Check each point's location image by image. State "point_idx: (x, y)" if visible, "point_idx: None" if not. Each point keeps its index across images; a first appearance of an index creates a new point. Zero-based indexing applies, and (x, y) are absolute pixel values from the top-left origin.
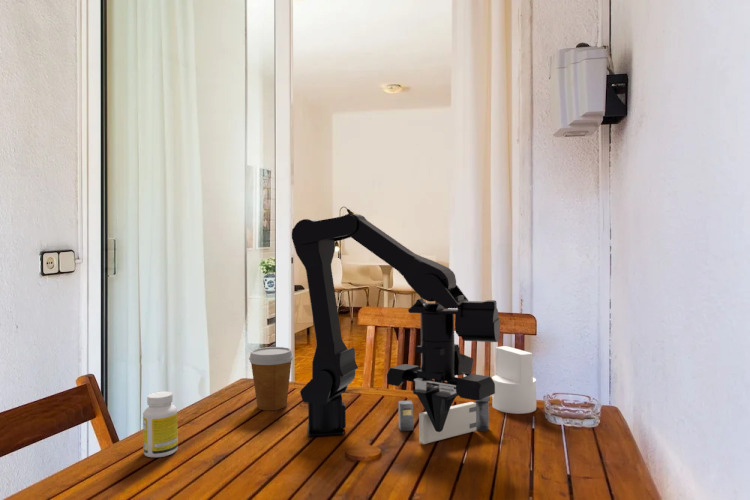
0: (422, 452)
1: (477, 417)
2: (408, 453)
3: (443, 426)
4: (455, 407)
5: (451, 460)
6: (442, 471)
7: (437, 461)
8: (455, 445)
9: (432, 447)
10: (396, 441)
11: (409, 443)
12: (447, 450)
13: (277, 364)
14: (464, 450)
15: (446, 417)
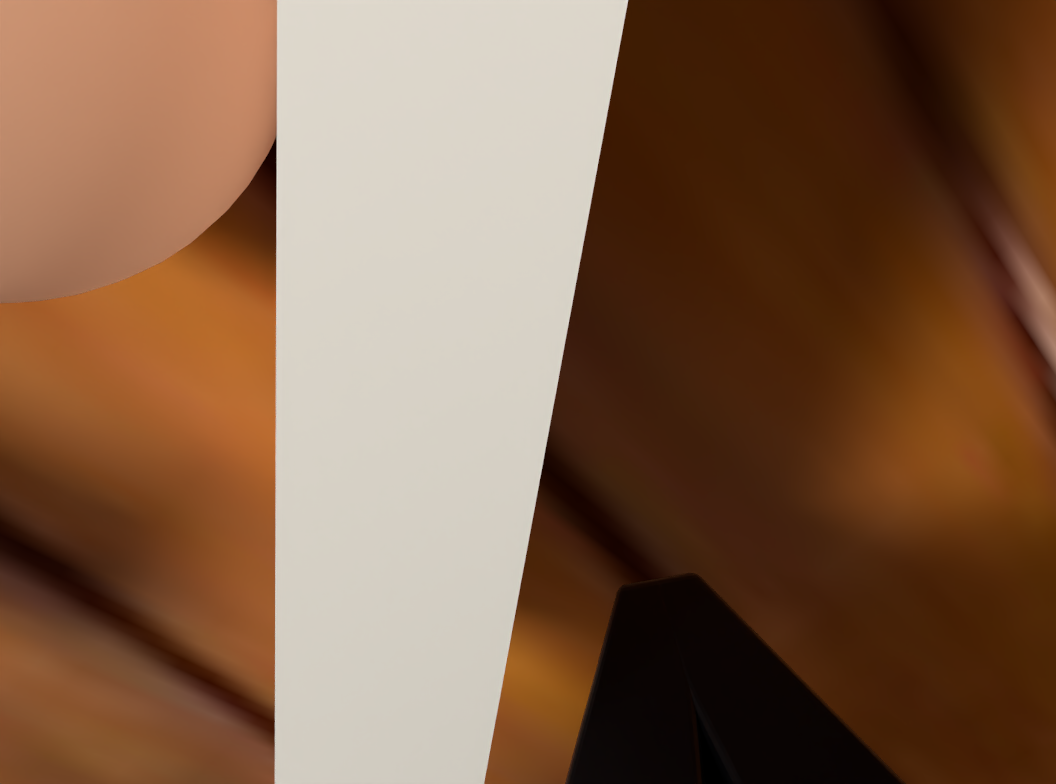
0: (576, 662)
1: None
2: (488, 764)
3: (738, 621)
4: (563, 30)
5: (983, 571)
6: (1032, 756)
7: (866, 678)
8: (749, 210)
9: (547, 502)
10: (74, 696)
11: (234, 626)
12: (771, 425)
13: None
14: (974, 249)
15: (868, 755)
